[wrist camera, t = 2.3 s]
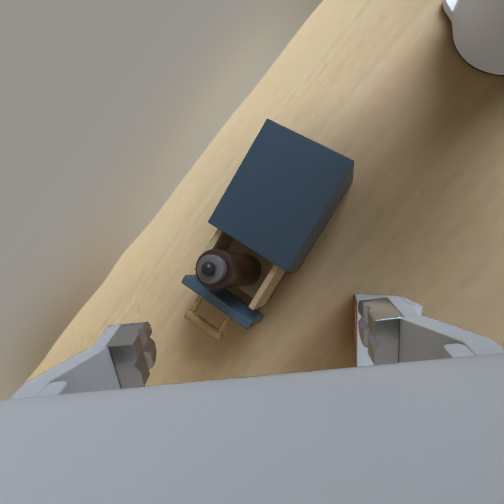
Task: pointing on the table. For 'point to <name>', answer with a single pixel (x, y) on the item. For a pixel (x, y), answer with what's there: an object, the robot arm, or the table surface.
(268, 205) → the cabinet
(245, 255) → the pepper mill
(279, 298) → the table surface
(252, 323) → the drawer
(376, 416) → the robot arm
